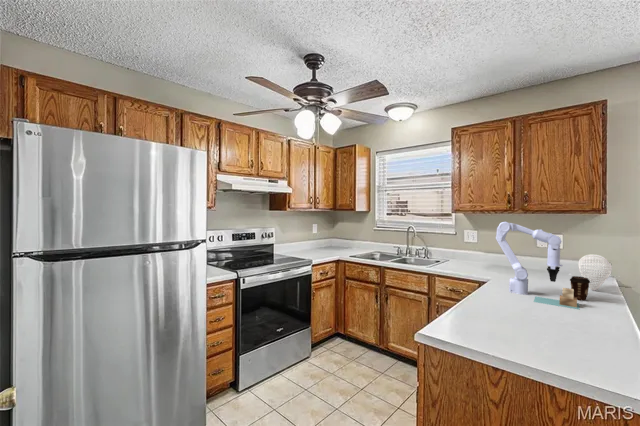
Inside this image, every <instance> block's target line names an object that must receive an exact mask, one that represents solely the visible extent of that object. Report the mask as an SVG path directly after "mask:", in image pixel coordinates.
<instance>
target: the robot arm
mask: <svg viewBox="0 0 640 426" xmlns="http://www.w3.org/2000/svg"><path fill="white" fill-rule="evenodd" d="M510 230H511V232H514V231H515V232H519V233H520V232H521V233H523V234H525V235H529V236H531V238H533V240H537V241H540V242H543V243H548V245H547V259H546V260H547V261H546V262H547V263H546V266H547V267H546V270H547V272H548V276H549V280H550V282H553V283H555V282H556V280H557V276H558V274H559V272H560V269H561V267H563V264H561V244H562V242H563V241H562V239H561V238H560V237H559V236H558V235H556V234H553V233H551V232H547V231H544V230H543V229H541V228H540V229H538V228H537V229H535V230H534V229H531V228H529V227H525V226H524V225H520V224H518V223H513V222H508V221H502V222H500V223H499V225H498V226H497V227H496V235H495V240H496V242H497V243H498V246H500V248H501V250H502V252H503V253H504V255H505V257H506V259H507V260H508V262H509V264H510V265H511V267H512V269H513V271H514V277H510V278H509V284H508V285H509V286H508V292H509V293H511V294H512V293H513V294H517V295H523V296H526V295H529V294H528V293H529V279H528V277H529V273H528V271H527V269H526V268H525V267H523V265H522V264H521V263H520V260H519V259H518V257H517V256H516V254H515V253H514V251H513V249H512V247H511V246H510V244H509V243H508V241H507V240H506V237H507V234H508V233H509V232H510Z"/></svg>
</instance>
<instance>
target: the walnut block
mask: <svg viewBox="0 0 640 426" xmlns="http://www.w3.org/2000/svg"><path fill="white" fill-rule="evenodd" d="M559 300H560V303H559V305H565V306H571V307H577V303H578V300H577V298H575V297H573V299H567V298H562V295H559Z"/></svg>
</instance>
